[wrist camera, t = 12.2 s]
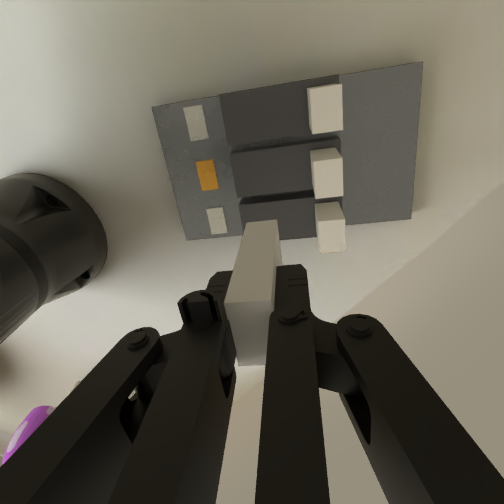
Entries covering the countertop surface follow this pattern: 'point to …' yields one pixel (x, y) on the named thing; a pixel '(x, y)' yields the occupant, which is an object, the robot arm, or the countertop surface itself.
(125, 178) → the countertop surface
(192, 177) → the panel
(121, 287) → the countertop surface
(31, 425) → the toy
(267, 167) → the breaker housings
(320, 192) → the handle
